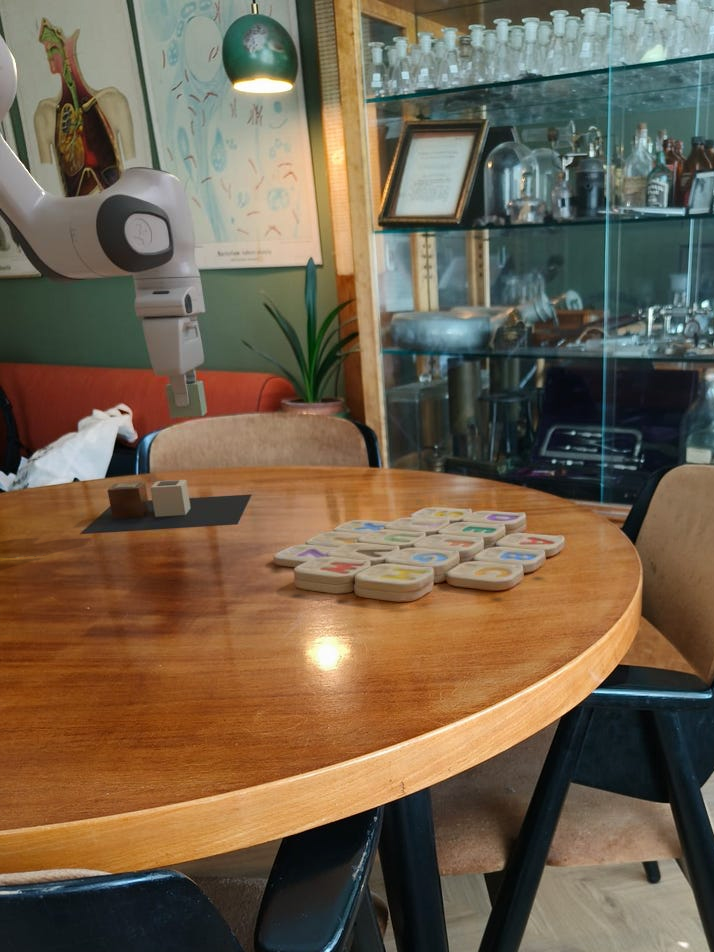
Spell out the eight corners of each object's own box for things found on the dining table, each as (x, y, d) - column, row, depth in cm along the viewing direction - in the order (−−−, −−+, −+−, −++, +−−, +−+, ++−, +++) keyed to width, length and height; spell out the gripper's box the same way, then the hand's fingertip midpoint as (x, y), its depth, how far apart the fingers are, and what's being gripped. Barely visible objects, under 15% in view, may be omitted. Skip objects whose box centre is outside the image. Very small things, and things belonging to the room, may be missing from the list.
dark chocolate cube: (112, 519, 133) (107, 489, 131) (120, 512, 137) (114, 483, 135) (143, 517, 133) (138, 487, 131) (150, 510, 137) (144, 481, 136)
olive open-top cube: (170, 418, 126) (164, 384, 124) (176, 413, 130) (170, 381, 129) (202, 416, 127) (197, 383, 125) (207, 412, 131) (202, 380, 129)
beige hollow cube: (155, 516, 133) (150, 486, 132) (161, 510, 138) (156, 480, 136) (185, 515, 134) (181, 485, 132) (190, 508, 138) (186, 479, 136)
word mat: (79, 536, 125) (79, 533, 125) (114, 504, 144) (114, 502, 144) (237, 526, 128) (237, 524, 128) (252, 496, 146) (251, 494, 146)
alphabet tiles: (380, 514, 132) (379, 498, 131) (586, 534, 118) (587, 516, 118) (231, 579, 104) (228, 559, 103) (478, 614, 91) (477, 592, 90)
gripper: (162, 300, 132) (177, 396, 137) (130, 303, 113) (149, 413, 118) (205, 299, 132) (219, 393, 138) (181, 301, 114) (198, 411, 119)
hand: (187, 403), depth 128 cm, fingers closed on olive open-top cube, 4 cm apart
